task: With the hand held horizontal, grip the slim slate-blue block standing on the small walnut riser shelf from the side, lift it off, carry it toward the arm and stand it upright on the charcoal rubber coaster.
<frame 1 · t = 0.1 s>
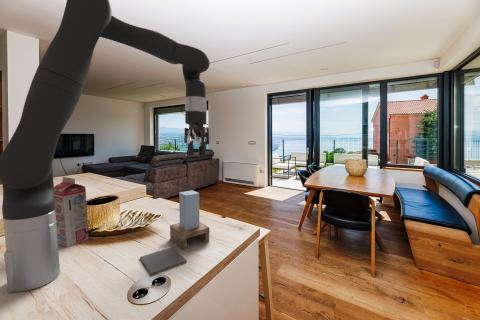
hand: (196, 155, 81), 29 cm above the worktop, tool pointing down, fingers open, 8 cm apart
block: (189, 226, 77), point 5 cm above the worktop, touching riser
coaster: (163, 260, 65), on the worktop
riser: (189, 240, 78), on the worktop
juice carton: (72, 241, 76), on the worktop
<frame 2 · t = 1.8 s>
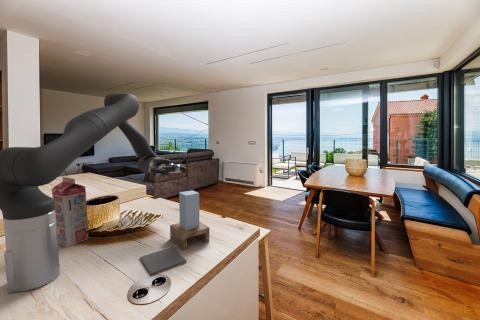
hand: (175, 171, 84), 23 cm above the worktop, tool horizontal, fingers open, 8 cm apart
nothing on the worktop moved.
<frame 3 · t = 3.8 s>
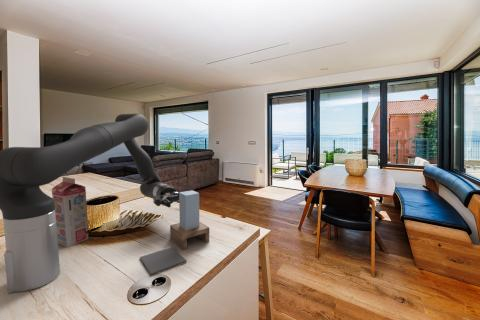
hand: (181, 202, 81), 12 cm above the worktop, tool horizontal, fingers open, 8 cm apart
nothing on the worktop moved.
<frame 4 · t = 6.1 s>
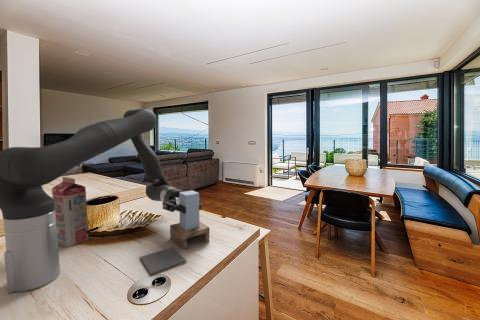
hand: (192, 208, 74), 12 cm above the worktop, tool horizontal, fingers closed on block, 5 cm apart
block: (189, 226, 77), point 5 cm above the worktop, touching gripper, riser
everything else where it was.
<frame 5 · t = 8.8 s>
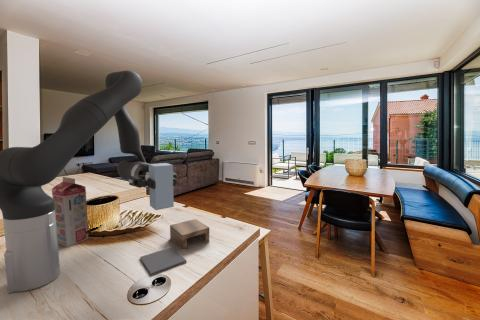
hand: (164, 183, 60), 23 cm above the worktop, tool horizontal, fingers closed on block, 5 cm apart
block: (161, 206, 63), point 16 cm above the worktop, touching gripper
everything else where it was.
when the fingers open (9 cm above the worktop, at t = 11.8 s): block drops 1 cm, resting on coaster.
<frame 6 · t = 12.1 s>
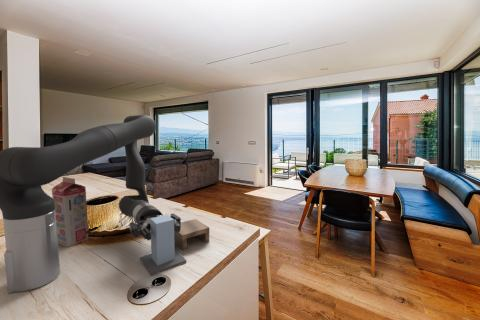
hand: (164, 232, 62), 9 cm above the worktop, tool horizontal, fingers open, 8 cm apart
block: (163, 258, 65), point 1 cm above the worktop, touching coaster
everything else where it was.
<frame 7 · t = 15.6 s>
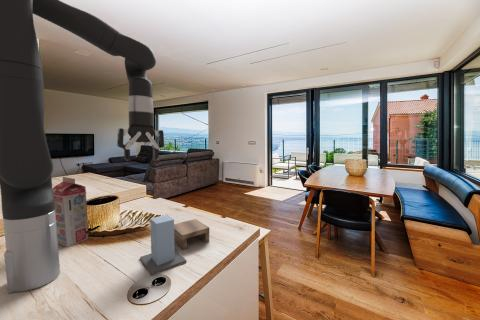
hand: (142, 160, 74), 28 cm above the worktop, tool pointing down, fingers open, 8 cm apart
nothing on the worktop moved.
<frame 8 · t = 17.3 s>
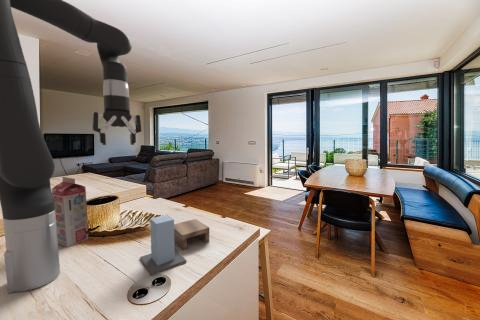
hand: (118, 144, 75), 33 cm above the worktop, tool pointing down, fingers open, 8 cm apart
at the end: block 0.1 cm from the coaster (horizontally); block tilted 0°; block point 0.6 cm above the worktop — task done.
